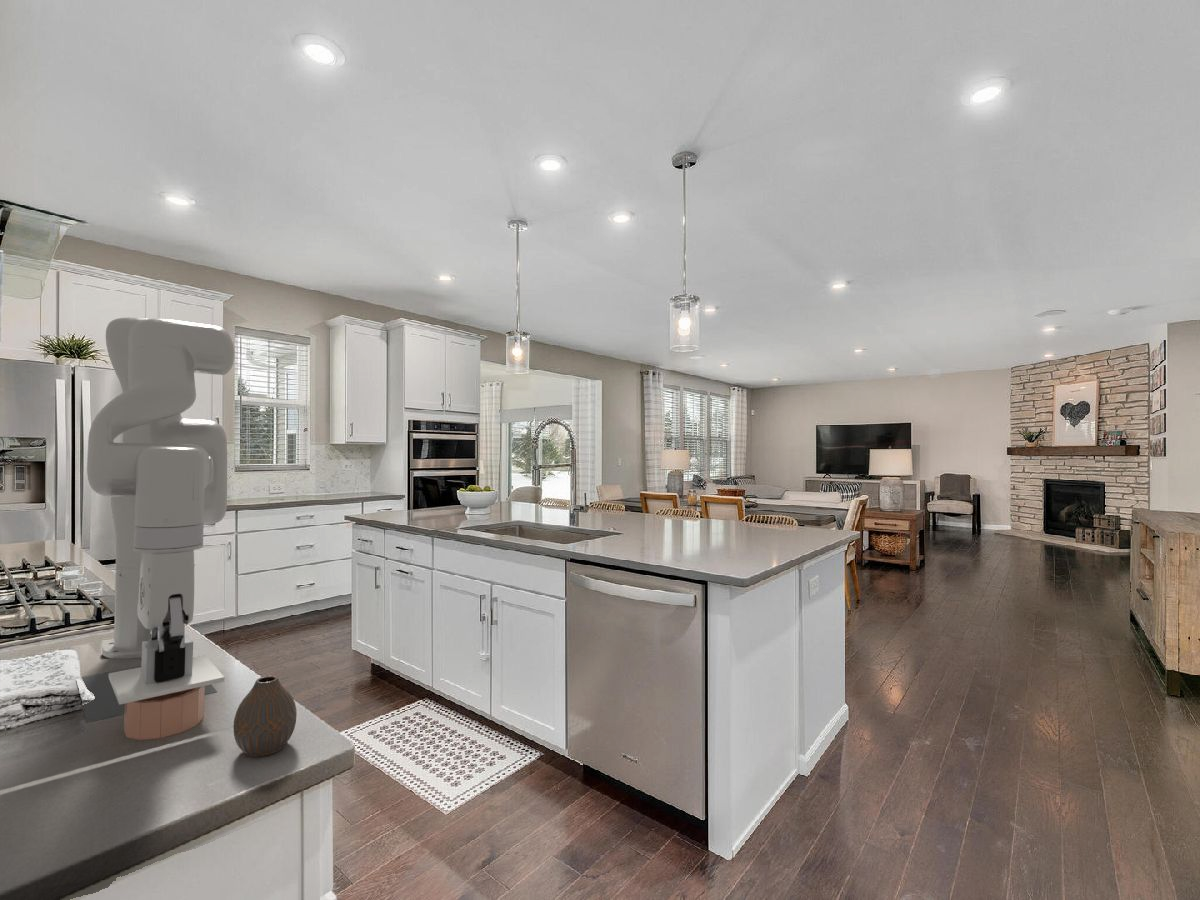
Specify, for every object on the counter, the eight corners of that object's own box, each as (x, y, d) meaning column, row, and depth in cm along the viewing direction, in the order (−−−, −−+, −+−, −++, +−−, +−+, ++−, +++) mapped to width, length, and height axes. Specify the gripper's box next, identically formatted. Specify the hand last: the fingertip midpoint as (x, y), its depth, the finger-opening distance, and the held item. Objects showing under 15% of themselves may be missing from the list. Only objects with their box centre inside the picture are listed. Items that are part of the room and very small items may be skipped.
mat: (75, 680, 92) (75, 678, 92) (189, 658, 103) (189, 656, 103) (86, 725, 78) (86, 722, 78) (217, 694, 89) (217, 691, 89)
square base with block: (108, 677, 79) (110, 639, 79) (205, 659, 87) (206, 624, 87) (119, 704, 71) (120, 662, 71) (224, 681, 79) (225, 643, 79)
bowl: (120, 725, 79) (121, 688, 79) (195, 706, 85) (196, 672, 85) (129, 749, 73) (130, 708, 73) (209, 727, 79) (210, 690, 79)
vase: (267, 766, 70) (269, 693, 70) (218, 759, 71) (220, 686, 71) (307, 738, 76) (309, 671, 76) (262, 732, 78) (264, 666, 78)
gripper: (125, 532, 82) (122, 663, 82) (144, 549, 70) (140, 702, 70) (189, 528, 87) (186, 651, 87) (217, 543, 75) (214, 685, 76)
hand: (166, 672), depth 79 cm, fingers closed on square base with block, 3 cm apart
